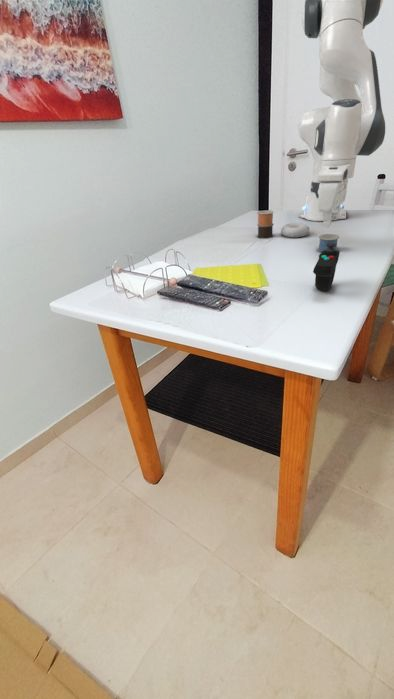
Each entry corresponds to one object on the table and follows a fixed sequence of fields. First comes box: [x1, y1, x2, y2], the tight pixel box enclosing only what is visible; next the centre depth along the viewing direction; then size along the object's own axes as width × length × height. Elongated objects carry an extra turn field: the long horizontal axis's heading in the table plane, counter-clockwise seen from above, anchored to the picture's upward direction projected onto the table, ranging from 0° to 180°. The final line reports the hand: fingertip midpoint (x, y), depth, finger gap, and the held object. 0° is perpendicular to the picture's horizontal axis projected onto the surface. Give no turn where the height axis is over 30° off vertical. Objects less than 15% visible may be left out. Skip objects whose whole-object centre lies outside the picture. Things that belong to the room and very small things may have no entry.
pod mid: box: [257, 209, 275, 226], centre depth 122 cm, size 6×6×4 cm
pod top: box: [318, 233, 340, 253], centre depth 104 cm, size 6×6×4 cm
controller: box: [312, 243, 341, 291], centre depth 77 cm, size 4×12×10 cm, turn 153°
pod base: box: [257, 222, 275, 239], centre depth 124 cm, size 6×6×4 cm
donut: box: [280, 223, 310, 238], centre depth 123 cm, size 10×4×10 cm
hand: (330, 222), depth 101 cm, fingers open, 8 cm apart
